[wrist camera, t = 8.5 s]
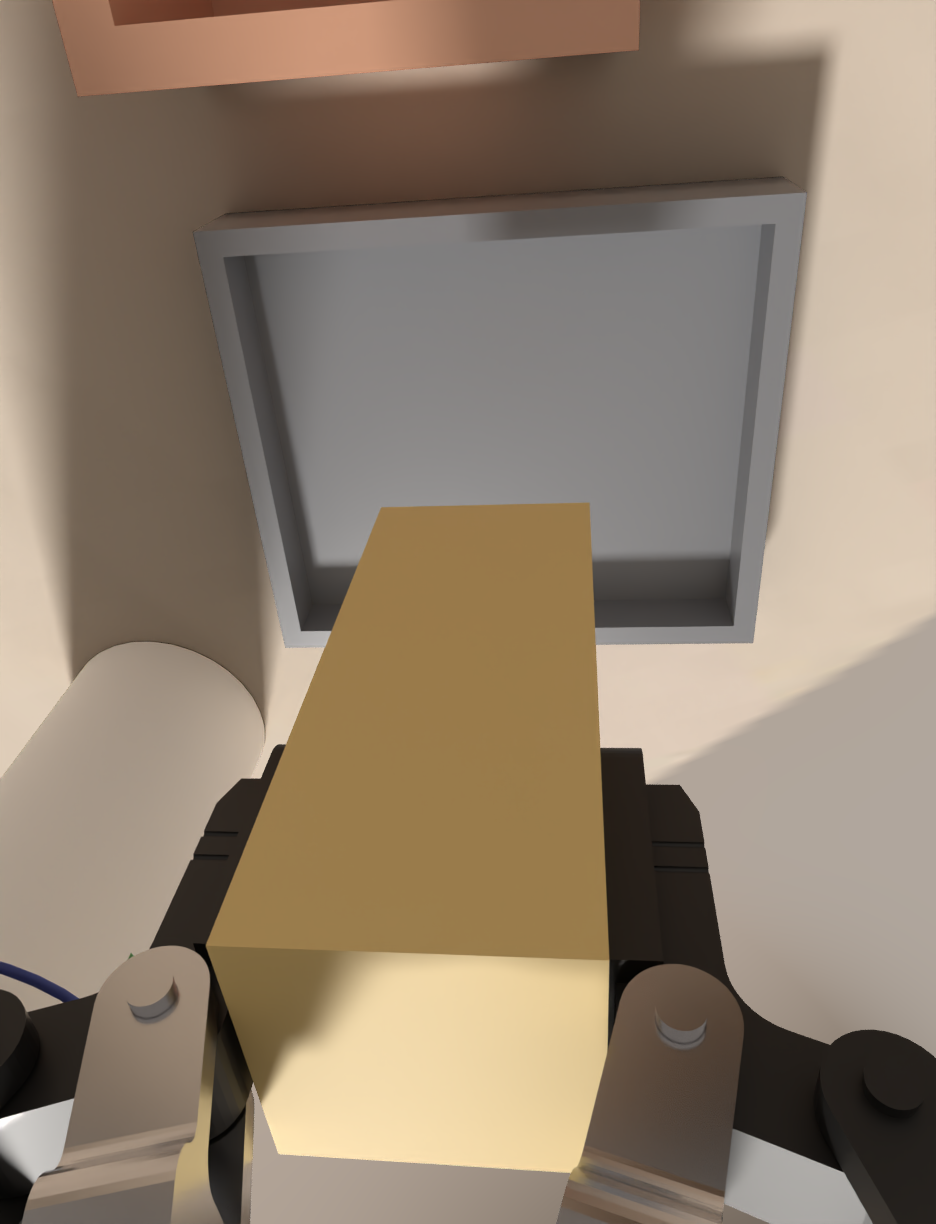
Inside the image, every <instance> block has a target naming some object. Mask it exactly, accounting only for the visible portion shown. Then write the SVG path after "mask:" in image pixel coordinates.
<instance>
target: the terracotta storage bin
mask: <svg viewBox="0 0 936 1224" xmlns="http://www.w3.org/2000/svg"><path fill="white" fill-rule="evenodd" d="M52 2H53V6H54V10H55V13H56V17H57V21H58V25H59V28H60V32H61V36H62V40H63V43H64V47H65V51H66V55H67V58H68V62H69V66H70V70H71V73H72V77H73V81H74V85H75V88H76V92H77V96H78V97H79V96H91V95H103V94H115V93H127V92H139V91H151V90H164V89H176V88H188V87H200V86H212V85H224V84H236V83H248V82H260V81H272V80H284V79H296V78H308V77H320V76H332V75H345V74H357V73H369V72H381V71H393V70H405V69H417V68H429V67H441V66H453V65H465V64H477V63H489V62H501V61H513V60H525V59H538V58H550V57H562V56H574V55H586V54H598V53H610V52H622V51H634V50H639V20H640V0H52Z"/></svg>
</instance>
